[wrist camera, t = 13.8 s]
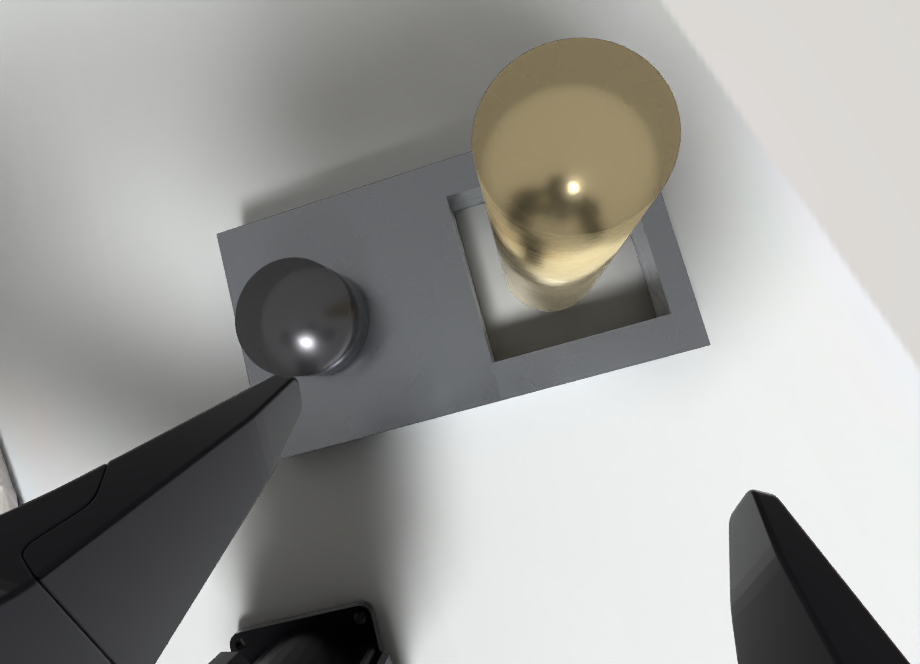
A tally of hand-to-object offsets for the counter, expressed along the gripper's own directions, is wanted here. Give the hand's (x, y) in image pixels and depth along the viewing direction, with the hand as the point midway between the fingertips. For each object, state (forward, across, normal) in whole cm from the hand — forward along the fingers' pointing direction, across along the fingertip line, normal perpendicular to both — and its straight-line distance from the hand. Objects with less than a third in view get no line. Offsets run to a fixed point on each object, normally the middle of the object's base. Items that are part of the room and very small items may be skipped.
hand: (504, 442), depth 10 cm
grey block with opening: (+11, +4, +4) cm, 13 cm away
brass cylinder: (+13, 0, +3) cm, 13 cm away
